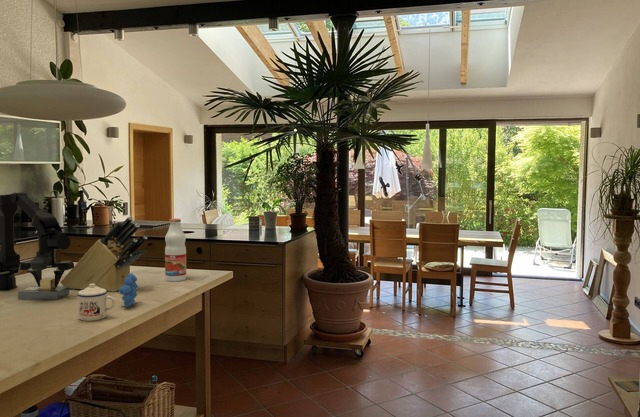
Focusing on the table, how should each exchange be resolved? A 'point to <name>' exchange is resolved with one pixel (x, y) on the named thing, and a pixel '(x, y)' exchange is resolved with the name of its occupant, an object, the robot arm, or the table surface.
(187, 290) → the table surface
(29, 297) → the rail plate
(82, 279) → the knife block
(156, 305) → the table surface
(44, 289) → the wooden square beam
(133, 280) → the grapes
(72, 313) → the table surface
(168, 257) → the fruit juice
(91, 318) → the teacup with lid
